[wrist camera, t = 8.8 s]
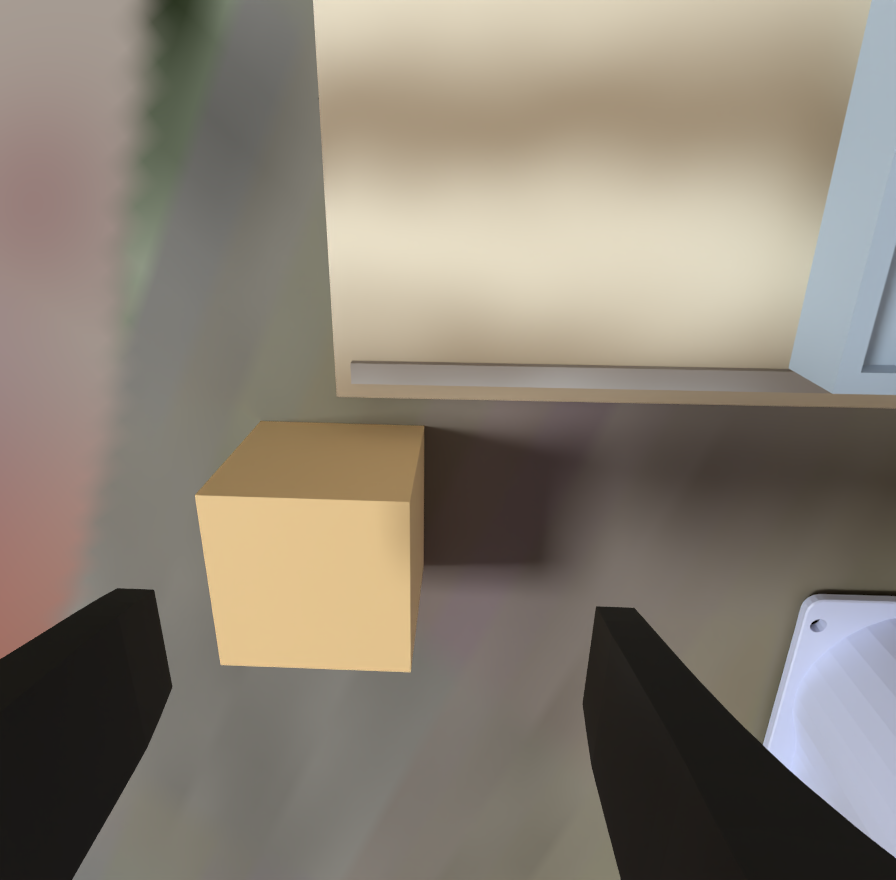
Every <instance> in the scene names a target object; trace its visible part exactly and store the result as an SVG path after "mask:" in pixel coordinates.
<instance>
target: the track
mask: <svg viewBox="0 0 896 880" xmlns="http://www.w3.org/2000/svg"><path fill="white" fill-rule="evenodd" d="M871 1H872V0H313V5H314V22H315V39H316V56H317V72H318V89H319V106H320V122H321V139H322V156H323V173H324V189H325V206H326V223H327V240H328V256H329V273H330V290H331V307H332V323H333V340H334V357H335V374H336V390H337V397H367V398H416V399H464V400H512V401H560V402H609V403H657V404H705V405H754V406H802V407H850V408H896V395H873V394H832V393H830V392H829V391H827V390H825V389H823V388H822V387H820V386H818V385H817V384H815V383H813V382H811V381H810V380H808V379H806V378H804V377H803V376H801V375H799V374H798V373H796V372H794V371H792V370H791V369H789V363H790V359H791V354H792V350H793V346H794V341H795V337H796V332H797V328H798V324H799V319H800V315H801V310H802V306H803V301H804V297H805V293H806V288H807V284H808V279H809V275H810V271H811V266H812V262H813V257H814V253H815V248H816V244H817V240H818V235H819V231H820V226H821V222H822V217H823V213H824V209H825V204H826V200H827V195H828V191H829V187H830V182H831V178H832V173H833V169H834V164H835V160H836V156H837V151H838V147H839V142H840V138H841V134H842V129H843V125H844V120H845V116H846V111H847V107H848V103H849V98H850V94H851V89H852V85H853V81H854V76H855V72H856V67H857V63H858V58H859V54H860V50H861V45H862V41H863V36H864V32H865V28H866V23H867V19H868V14H869V10H870V5H871Z"/></svg>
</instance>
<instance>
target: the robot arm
mask: <svg viewBox="0 0 896 880" xmlns="http://www.w3.org/2000/svg"><path fill="white" fill-rule="evenodd" d="M818 619H820V620H819V621H818V622H817V623H815V624H811V623H812V622H813V621H815V620H818ZM171 689H172V683H171V677H170V672H169V667H168V661H167V656H166V651H165V645H164V640H163V635H162V629H161V624H160V619H159V613H158V608H157V603H156V598H155V592H154V590H146V589H120V588H117V589H115V590H114V591H112V592H110V593H108V594H106V595H104V596H102V597H101V598H99V599H97V600H96V601H94V602H92V603H91V604H89V605H87V606H85V607H84V608H82V609H81V610H79V611H77V612H76V613H74V614H72V615H71V616H69V617H68V618H66V619H64V620H63V621H61V622H60V623H58V624H56V625H55V626H53V627H52V628H50V629H48V630H47V631H45V632H44V633H42V634H40V635H39V636H37V637H35V638H34V639H32V640H31V641H29V642H28V643H26V644H24V645H23V646H21V647H19V648H18V649H16V650H14V651H13V652H11V653H10V654H8V655H6V656H5V657H3V658H1V659H0V880H72V879H73V877H74V875H75V873H76V872H77V870H78V868H79V867H80V865H81V863H82V861H83V860H84V858H85V856H86V854H87V853H88V851H89V849H90V847H91V846H92V844H93V842H94V840H95V839H96V837H97V835H98V833H99V832H100V830H101V828H102V827H103V825H104V823H105V821H106V820H107V818H108V816H109V814H110V813H111V811H112V809H113V807H114V806H115V804H116V802H117V800H118V799H119V797H120V795H121V793H122V792H123V790H124V788H125V786H126V785H127V783H128V781H129V779H130V777H131V776H132V774H133V772H134V770H135V769H136V767H137V765H138V763H139V761H140V760H141V758H142V756H143V754H144V752H145V751H146V749H147V747H148V744H149V742H150V740H151V738H152V735H153V733H154V731H155V728H156V726H157V724H158V721H159V719H160V717H161V714H162V712H163V709H164V707H165V704H166V702H167V699H168V697H169V694H170V692H171ZM583 710H584V717H585V725H586V732H587V739H588V746H589V752H590V759H591V765H592V770H593V774H594V778H595V782H596V786H597V790H598V793H599V797H600V801H601V805H602V809H603V813H604V817H605V820H606V824H607V828H608V832H609V836H610V839H611V843H612V847H613V851H614V855H615V858H616V862H617V866H618V870H619V874H620V877H621V880H896V596H873V595H838V594H816V595H812V596H810V597H808V598H807V599H806V600H805V601H804V602H803V604H802V606H801V609H800V612H799V616H798V620H797V623H796V627H795V631H794V634H793V638H792V641H791V645H790V649H789V652H788V656H787V660H786V663H785V667H784V670H783V674H782V678H781V681H780V685H779V689H778V692H777V696H776V699H775V703H774V707H773V710H772V714H771V718H770V721H769V725H768V728H767V732H766V736H765V739H764V743H763V745H762V744H761V743H760V742H759V741H758V740H757V739H756V738H755V737H754V736H753V735H752V734H751V733H750V732H749V731H747V730H746V729H745V728H744V727H743V726H742V725H741V724H740V723H739V722H738V721H737V720H736V719H735V718H734V717H733V716H732V715H731V714H730V713H729V712H728V711H727V709H726V708H725V707H724V706H723V705H722V704H721V703H720V702H719V701H718V700H717V699H716V698H715V697H714V696H713V695H712V694H711V693H710V692H709V691H708V690H707V688H706V687H705V686H704V685H703V684H702V683H701V682H700V681H699V680H698V679H697V678H696V677H695V676H694V674H693V673H692V672H691V671H690V670H689V669H688V668H687V667H686V666H685V665H684V663H683V662H682V661H681V660H680V659H679V658H678V657H677V656H676V654H675V653H674V652H673V651H672V650H671V649H670V648H669V647H668V645H667V644H666V643H665V642H664V641H663V640H662V639H661V637H660V636H659V635H658V634H657V633H656V632H655V631H654V630H653V628H652V627H651V626H650V625H649V624H648V623H647V622H646V620H645V619H644V618H643V617H642V616H641V615H640V614H639V613H638V612H637V610H636V609H635V608H622V607H596V611H595V618H594V626H593V633H592V640H591V647H590V654H589V662H588V669H587V676H586V683H585V690H584V697H583Z"/></svg>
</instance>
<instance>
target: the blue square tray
mask: <svg viewBox="0 0 896 880" xmlns="http://www.w3.org/2000/svg"><path fill="white" fill-rule="evenodd" d="M789 369H791V370H792V371H794V372H796V373H798V374H799V375H801V376H803V377H804V378H806V379H808V380H810V381H811V382H813V383H815V384H817V385H818V386H820V387H822V388H823V389H825V390H827V391H829V392H830V393H832V394H873V395H896V0H872V1H871V5H870V10H869V14H868V19H867V23H866V28H865V32H864V36H863V41H862V45H861V50H860V54H859V58H858V63H857V67H856V72H855V76H854V81H853V85H852V89H851V94H850V98H849V103H848V107H847V111H846V116H845V120H844V125H843V129H842V134H841V138H840V142H839V147H838V151H837V156H836V160H835V164H834V169H833V173H832V178H831V182H830V187H829V191H828V195H827V200H826V204H825V209H824V213H823V217H822V222H821V226H820V231H819V235H818V240H817V244H816V248H815V253H814V257H813V262H812V266H811V271H810V275H809V279H808V284H807V288H806V293H805V297H804V301H803V306H802V310H801V315H800V319H799V324H798V328H797V332H796V337H795V341H794V346H793V350H792V354H791V359H790V363H789Z"/></svg>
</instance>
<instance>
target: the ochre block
mask: <svg viewBox="0 0 896 880" xmlns="http://www.w3.org/2000/svg"><path fill="white" fill-rule="evenodd" d="M195 499H196V505H197V512H198V519H199V525H200V532H201V538H202V545H203V551H204V558H205V565H206V571H207V578H208V584H209V591H210V597H211V604H212V611H213V617H214V624H215V630H216V637H217V644H218V650H219V657H220V663H221V665H236V666H262V667H288V668H314V669H341V670H367V671H393V672H411V665H412V657H413V649H414V641H415V632H416V624H417V616H418V608H419V600H420V591H421V583H422V575H423V567H424V426H414V425H379V424H344V423H309V422H274V421H260V422H259V424H258V425H257V426H256V427H255V428H254V429H253V430H252V432H251V433H250V434H249V435H248V436H247V437H246V438H245V439H244V441H243V442H242V443H241V444H240V445H239V446H238V447H237V448H236V450H235V451H234V452H233V453H232V454H231V455H230V456H229V457H228V459H227V460H226V461H225V462H224V463H223V464H222V465H221V466H220V468H219V469H218V470H217V471H216V472H215V473H214V474H213V475H212V477H211V478H210V479H209V480H208V481H207V482H206V483H205V484H204V486H203V487H202V488H201V489H200V490H199V491H198V492H197V494H196V495H195Z"/></svg>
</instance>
